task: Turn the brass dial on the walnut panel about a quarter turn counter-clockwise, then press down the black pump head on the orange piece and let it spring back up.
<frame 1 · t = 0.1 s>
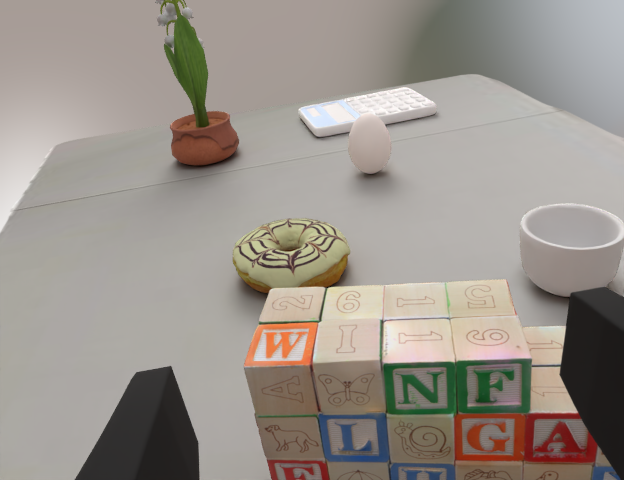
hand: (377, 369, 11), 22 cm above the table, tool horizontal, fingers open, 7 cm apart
teacup: (558, 278, 50), on the table
potted flower: (206, 156, 89), on the table
egg: (372, 173, 75), on the table
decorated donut: (293, 273, 56), on the table
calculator: (365, 116, 96), on the table
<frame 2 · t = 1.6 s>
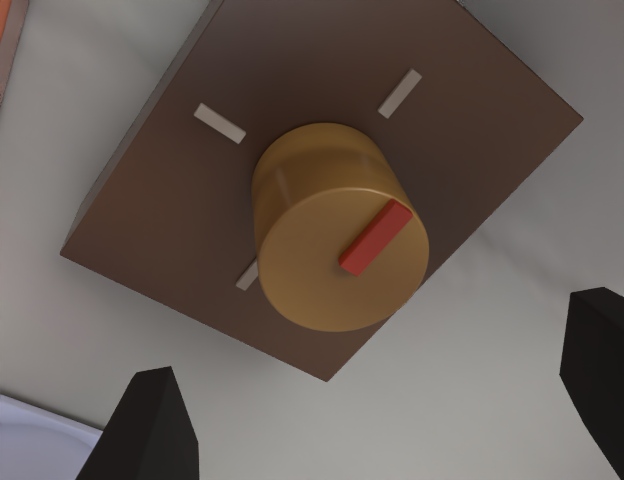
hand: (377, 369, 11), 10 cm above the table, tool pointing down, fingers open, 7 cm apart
dial: (332, 225, 15), point 5 cm above the table, hinge at 0.0°
dial panel: (308, 147, 19), on the table
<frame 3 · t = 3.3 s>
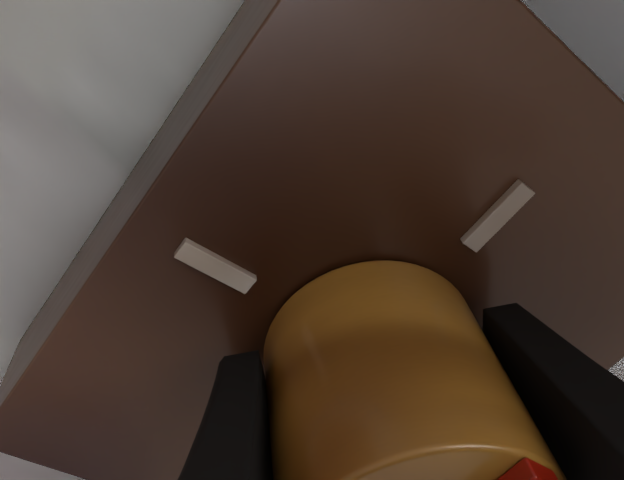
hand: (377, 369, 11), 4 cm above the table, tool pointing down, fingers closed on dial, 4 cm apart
dial: (396, 436, 9), point 5 cm above the table, hinge at 0.0°, touching gripper
dial panel: (341, 258, 14), on the table
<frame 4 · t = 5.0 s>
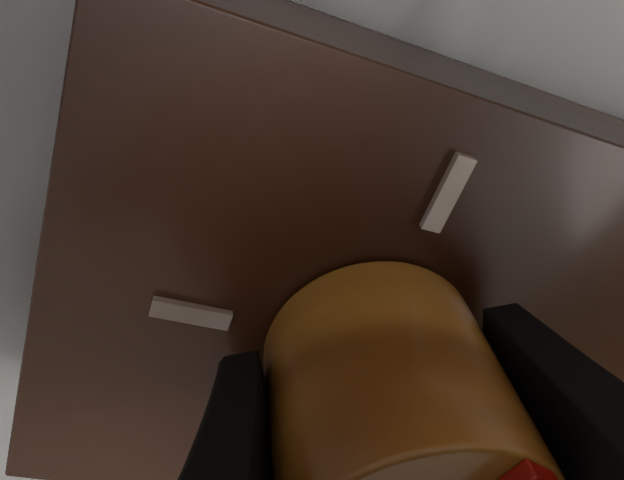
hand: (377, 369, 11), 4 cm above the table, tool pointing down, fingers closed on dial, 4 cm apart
dial: (396, 437, 9), point 5 cm above the table, hinge at 71.7°, touching gripper
dial panel: (341, 258, 14), on the table
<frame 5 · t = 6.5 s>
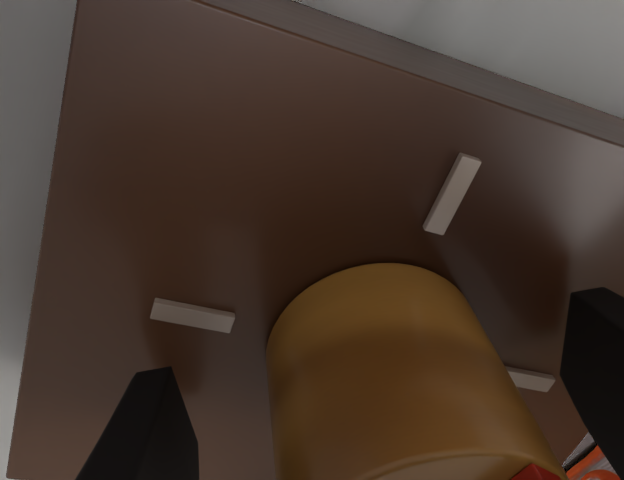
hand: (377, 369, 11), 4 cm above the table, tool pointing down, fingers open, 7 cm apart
dial: (399, 440, 9), point 5 cm above the table, hinge at 71.6°
dial panel: (343, 260, 14), on the table
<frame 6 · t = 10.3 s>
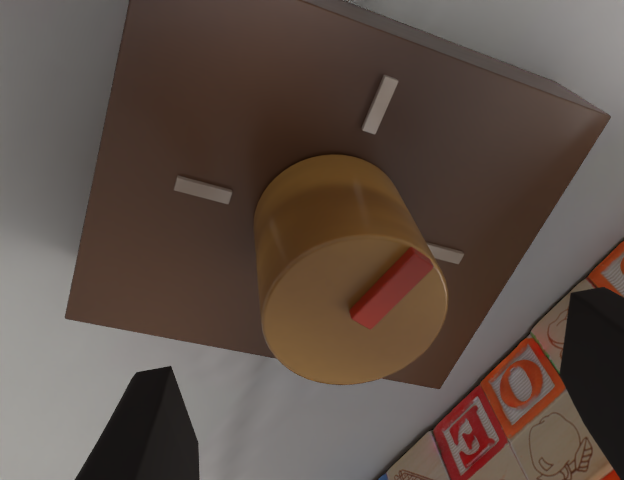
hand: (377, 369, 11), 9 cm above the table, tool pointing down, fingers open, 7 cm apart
stack of blocks: (550, 378, 25), on the table
dial: (342, 267, 14), point 5 cm above the table, hinge at 71.6°
dial panel: (313, 173, 18), on the table
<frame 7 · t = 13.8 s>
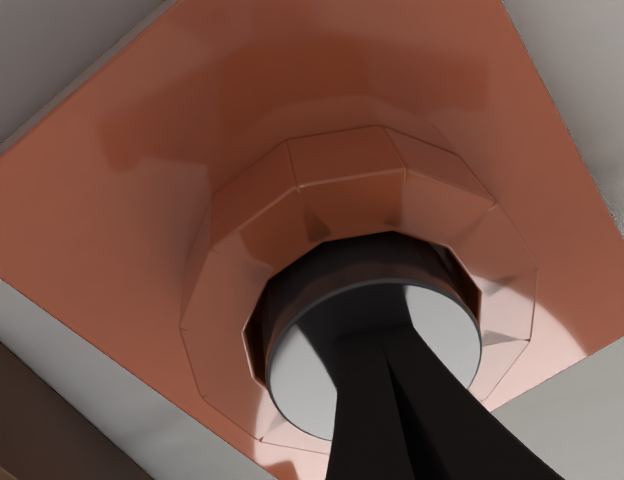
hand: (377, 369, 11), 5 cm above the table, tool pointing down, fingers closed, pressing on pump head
orange piece: (333, 230, 15), on the table
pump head: (364, 333, 11), point 4 cm above the table, slide at -0.6 cm, touching gripper
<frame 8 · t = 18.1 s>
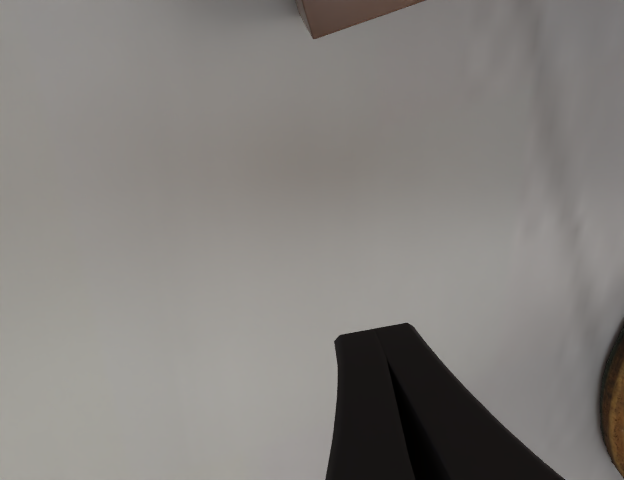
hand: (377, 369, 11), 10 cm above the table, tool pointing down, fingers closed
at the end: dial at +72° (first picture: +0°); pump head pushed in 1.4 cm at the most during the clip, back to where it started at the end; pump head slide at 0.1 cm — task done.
